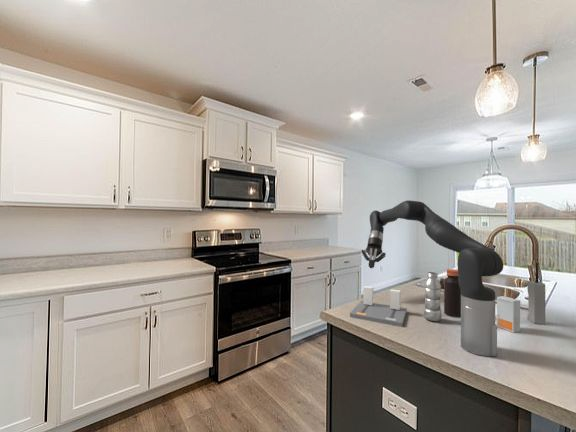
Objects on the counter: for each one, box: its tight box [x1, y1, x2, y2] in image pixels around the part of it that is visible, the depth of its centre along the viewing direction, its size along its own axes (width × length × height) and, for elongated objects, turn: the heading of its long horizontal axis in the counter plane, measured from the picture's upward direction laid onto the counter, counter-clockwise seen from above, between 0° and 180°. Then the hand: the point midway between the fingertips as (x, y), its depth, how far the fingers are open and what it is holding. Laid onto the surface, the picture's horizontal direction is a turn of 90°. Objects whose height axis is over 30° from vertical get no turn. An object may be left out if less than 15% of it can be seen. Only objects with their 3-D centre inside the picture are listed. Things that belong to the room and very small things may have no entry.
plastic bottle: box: [423, 271, 443, 322], centre depth 111 cm, size 6×7×20 cm
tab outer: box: [362, 285, 374, 305], centre depth 126 cm, size 4×3×8 cm
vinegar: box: [443, 268, 461, 318], centre depth 117 cm, size 7×7×20 cm
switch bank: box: [349, 300, 408, 328], centre depth 117 cm, size 21×20×2 cm
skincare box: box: [496, 295, 521, 334], centre depth 103 cm, size 6×4×12 cm
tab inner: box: [389, 288, 401, 310], centre depth 120 cm, size 4×3×8 cm
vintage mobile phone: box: [526, 262, 546, 326], centre depth 110 cm, size 4×5×25 cm
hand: (371, 267), depth 136 cm, fingers closed
